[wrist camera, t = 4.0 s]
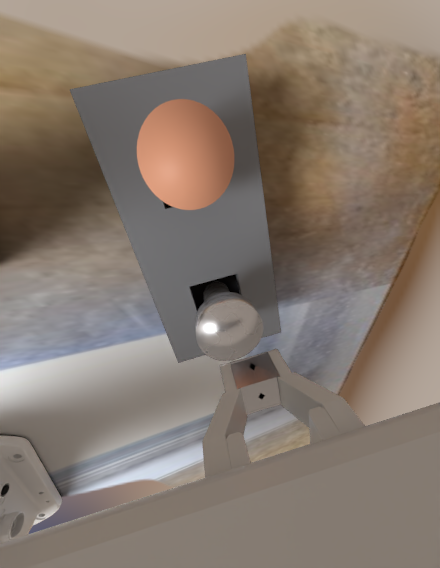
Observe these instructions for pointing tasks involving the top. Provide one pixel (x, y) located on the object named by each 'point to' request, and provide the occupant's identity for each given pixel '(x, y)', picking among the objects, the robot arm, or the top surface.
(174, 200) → the mushroom push button
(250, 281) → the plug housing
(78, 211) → the top surface
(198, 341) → the grey mushroom plug
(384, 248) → the top surface
